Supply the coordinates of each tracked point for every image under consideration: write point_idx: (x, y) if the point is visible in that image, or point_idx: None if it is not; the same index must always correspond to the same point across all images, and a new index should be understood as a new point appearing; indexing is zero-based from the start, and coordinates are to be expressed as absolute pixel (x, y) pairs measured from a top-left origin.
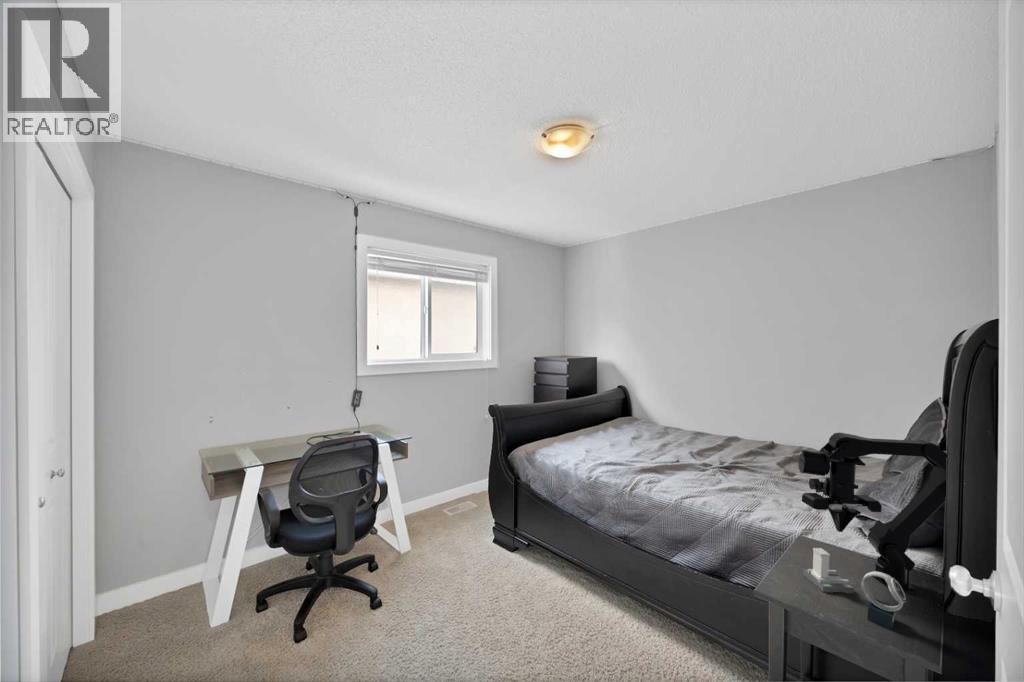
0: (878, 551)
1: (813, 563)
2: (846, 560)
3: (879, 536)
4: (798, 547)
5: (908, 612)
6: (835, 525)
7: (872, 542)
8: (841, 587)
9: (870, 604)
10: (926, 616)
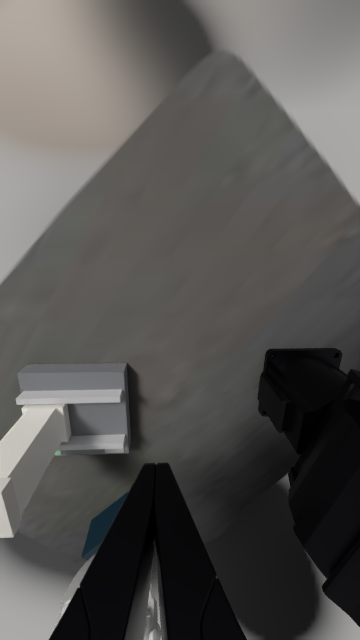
0: (291, 491)
1: (10, 432)
2: (262, 256)
3: (358, 594)
4: (123, 148)
5: (213, 489)
6: (124, 507)
7: (323, 473)
8: (91, 453)
9: (95, 548)
10: (242, 496)
